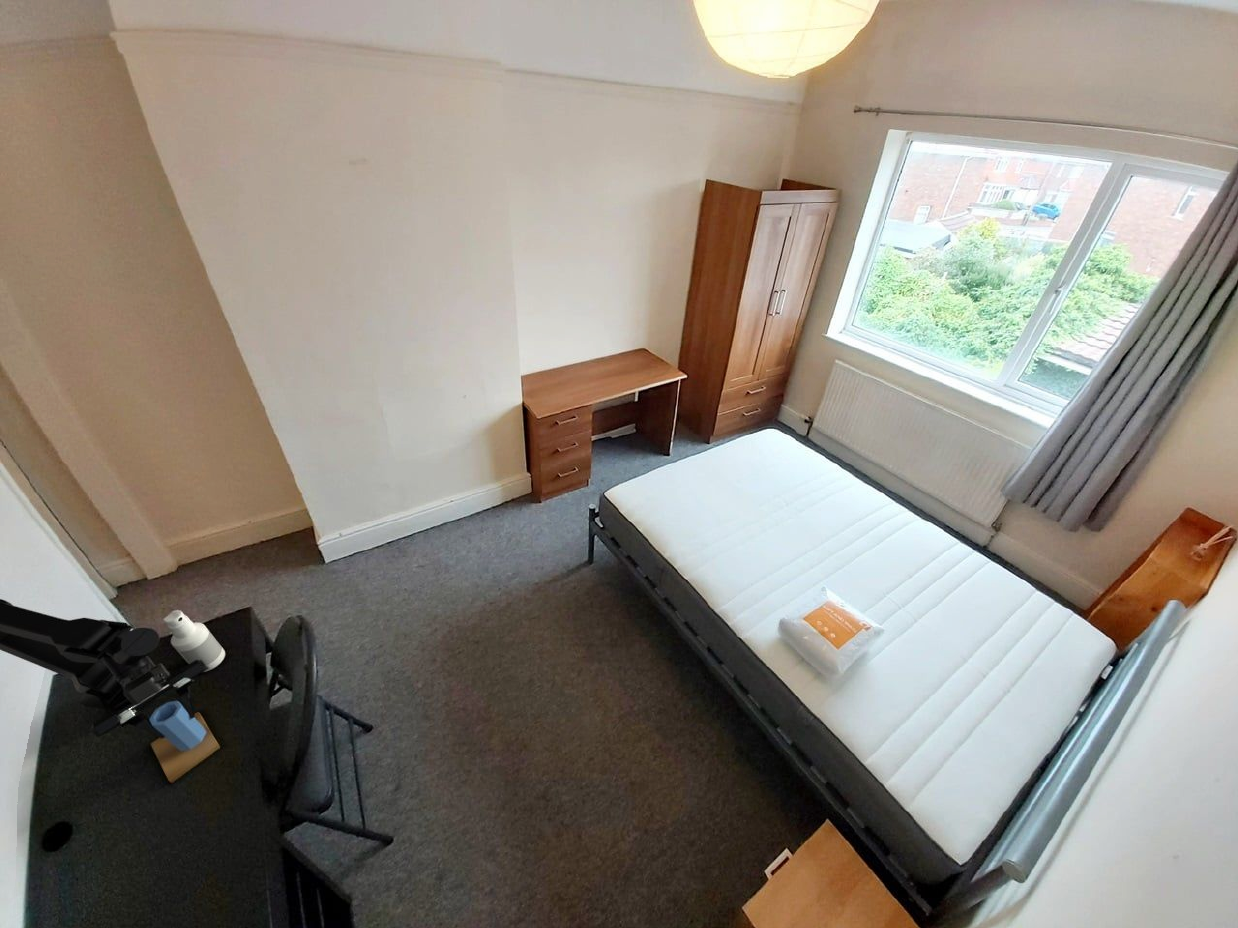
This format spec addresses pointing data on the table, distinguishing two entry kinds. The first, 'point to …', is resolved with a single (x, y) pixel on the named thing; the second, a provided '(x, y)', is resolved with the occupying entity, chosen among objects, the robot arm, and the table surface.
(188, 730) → the sleeve
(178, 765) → the base
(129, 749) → the table surface
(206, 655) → the spray bottle
